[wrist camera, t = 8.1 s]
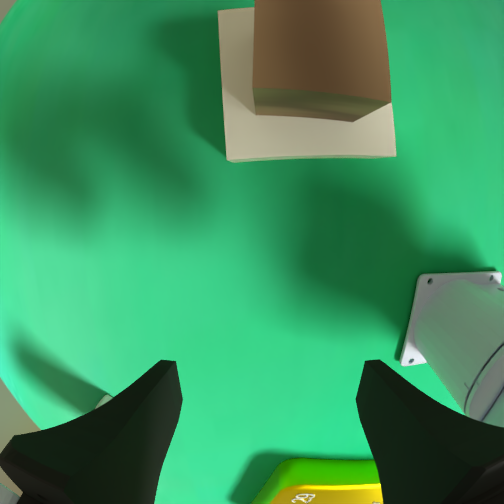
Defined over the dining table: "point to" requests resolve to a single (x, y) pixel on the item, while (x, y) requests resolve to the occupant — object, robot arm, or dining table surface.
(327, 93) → the walnut cube
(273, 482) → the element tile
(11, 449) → the robot arm
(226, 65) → the cream base block
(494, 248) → the dining table surface
